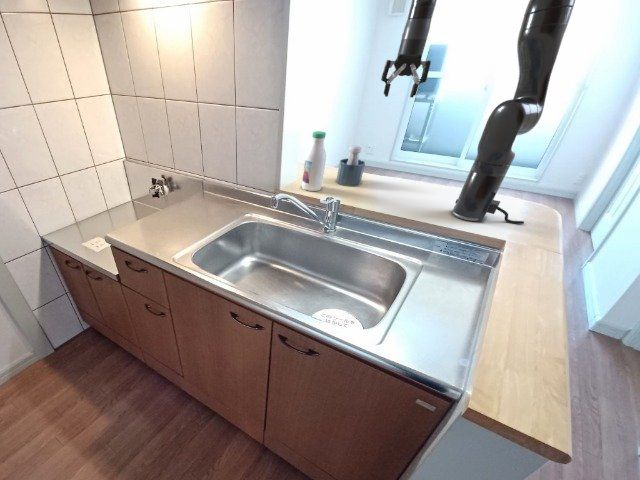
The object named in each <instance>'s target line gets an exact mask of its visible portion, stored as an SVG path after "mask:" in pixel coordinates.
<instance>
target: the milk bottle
mask: <svg viewBox="0 0 640 480" xmlns="http://www.w3.org/2000/svg"><path fill="white" fill-rule="evenodd" d="M311 136H312V137H311V143H310V146H309V148H308V150H307V151H306V153H305V159H304V164H303V172H302V180H301V188H302V189H303V190H305V191H309V192H317V191H320V190H321V189H322V187H323V181H324V175H325V168H326V161H327V152H326V147H325V140H326V131H320V130H315V131H313V132H312V135H311Z"/></svg>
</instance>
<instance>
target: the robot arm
mask: <svg viewBox="0 0 640 480" xmlns="http://www.w3.org/2000/svg"><path fill="white" fill-rule="evenodd" d="M437 1H438V0H411V3H410V8H409V11H408V15H407V19H406V22H405V25H404V28H403V32H402V34H401V39H400V44H399V49H398V51H397V52H398V53H397V56H396V59H395V60H390V59H386V61H385V64H384V68H383V71H382V74H381V78H380V79H381V80H380V81H382V82H384V83H385V84H384V89H383V95H384V97H385V98H388V97H389V93H390V89H391V85H392V84H391V83H392V82H393V81H394V80H395V79H396V78H397V77H398V76H399V77H403V76H404V77H405V76H406V77H411V78H412V80H413V84H412V87H411V91H410V95H409V98H414V97H416V95H417V92H418V89H419V86H420V85H421V84H422V83H426V82H427V79H428V75H429V72H430V67H431V62H432V60H428V59H427V60H422V58H423V54H424V51H425V47H426V43H427V40H428V37H429V33H430V30H431V24H432V19H433V15H434V11H435V8H436V4H437ZM575 4H576V0H529V1H528V4H527V6H526V8H525V11H524V14H523V18H522V21H521V24H520V28H519V32H518V36H517V43H516V52H517V64H518V79H517V85H516V87H515V92H514V95H513V98H511V99H506V100H504V101H502V102H500V103H498V105H496V106H495V108H493V110H492V111H491V113H490V115H489V117H488V118H487V120H486V123H485V125H484V128H483V130H482V133H481V135H480V138H479V141H478V144H477V149H476V151H477V154H476V156H475V159H474V161H473V163H472V166H471V168H470V170H469V172H468V175H467V177H466V178H465V182H464V184H463V186H462V188H461V191H460V193H459V195H458V198H457V199H456V200H455V203H454V204H455V205H454V207H453V208H452V211H451V214H452V215H453V216H454V217H456V218H458V219H461V220H464V221H469V222H479V223H482V222H483V221H484V220H485V218H486V215H487V214H492V215H494V214H495V213H496V211H499V212H500V213H502V214H503V215H504V221H505V222H506V223H509V224H515V225H516V224H519V225H523V224H525V221H524V220H511V219H509V213H508V212H507V210H505V209H503V208H501V207H500V204H501V201H500V200H495V198H496V196H497V193H498V192H499V190H500V187H501V185H502V183H503V182H504V179H505V177H506V175H507V173H508V172H509V169H510V167H511V165H512V163H513V162H514V160H515V157H516V153H515V151H513V149H512V148H513V145H514V143H515V140H516V138H517V136H522V135H525V134H527V133H529V132H530V131H532V130H533V129H534V128H535V127H536V126H537V124H538V123H539V122H540V120H541V118H542V115H543V112H544V108H545V104H546V103H545V102H546V100H547V99H546V98H547V93H548V91H549V90H548V89H549V84H550V80H551V77H552V72H553V70H554V67H555V64H556V61H557V57H558V56H559V51H560V49H561V45H562V41H563V39H564V36H565V33H566V31H567V29H568V25H569V21H570V19H571V16H572V14H573V10H574V7H575ZM393 66H394V71H393V72H392V73H391V74H390V76H389V77H388V74H389V70H390V69H391V68H392V67H393ZM420 67H421V69H422V73H421V76H420V77H419V74H418V69H419V68H420Z"/></svg>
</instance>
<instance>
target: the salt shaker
mask: <svg viewBox="0 0 640 480" xmlns="http://www.w3.org/2000/svg"><path fill="white" fill-rule="evenodd" d="M348 150H349V152H348V153H350V154H349V156H348V158H347V159H348V161H347V164H348V165H358V160H359V157H360V156H359V155H360V153H361V152H362V146H359V145H351V146H350V147H349V149H348Z"/></svg>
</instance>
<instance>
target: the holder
mask: <svg viewBox="0 0 640 480" xmlns="http://www.w3.org/2000/svg"><path fill="white" fill-rule="evenodd" d="M348 159H349V158H342V159H340V160H339V164H338V170H337V175H336V183H337V184H339V185H341V186H343V187H344V186H345V187H356V186H360V185H361V183H362V178H363V175H364V170H365V166H366V162H365V161H364V160H362V159H358V165H348V164H347V161H348Z"/></svg>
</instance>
